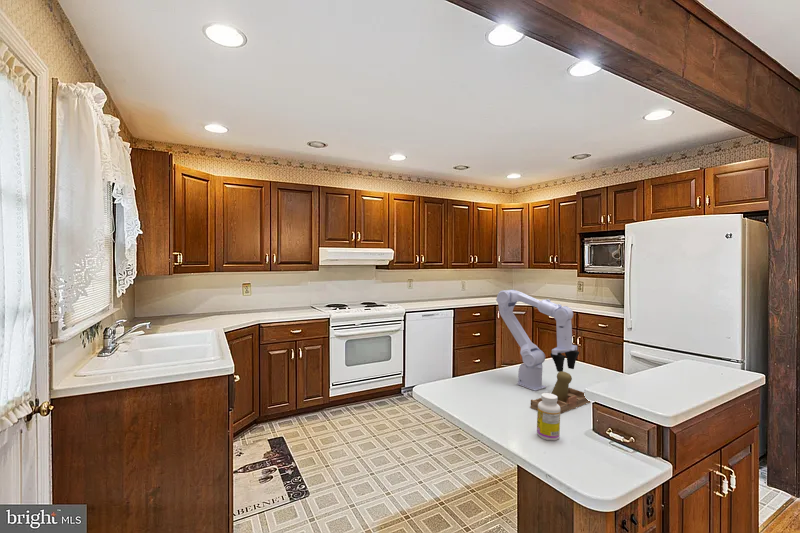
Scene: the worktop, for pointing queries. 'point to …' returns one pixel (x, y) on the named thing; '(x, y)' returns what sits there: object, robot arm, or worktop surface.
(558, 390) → the olive bulbous cylinder
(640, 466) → the worktop surface
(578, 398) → the spice rack
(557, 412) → the supplement bottle
